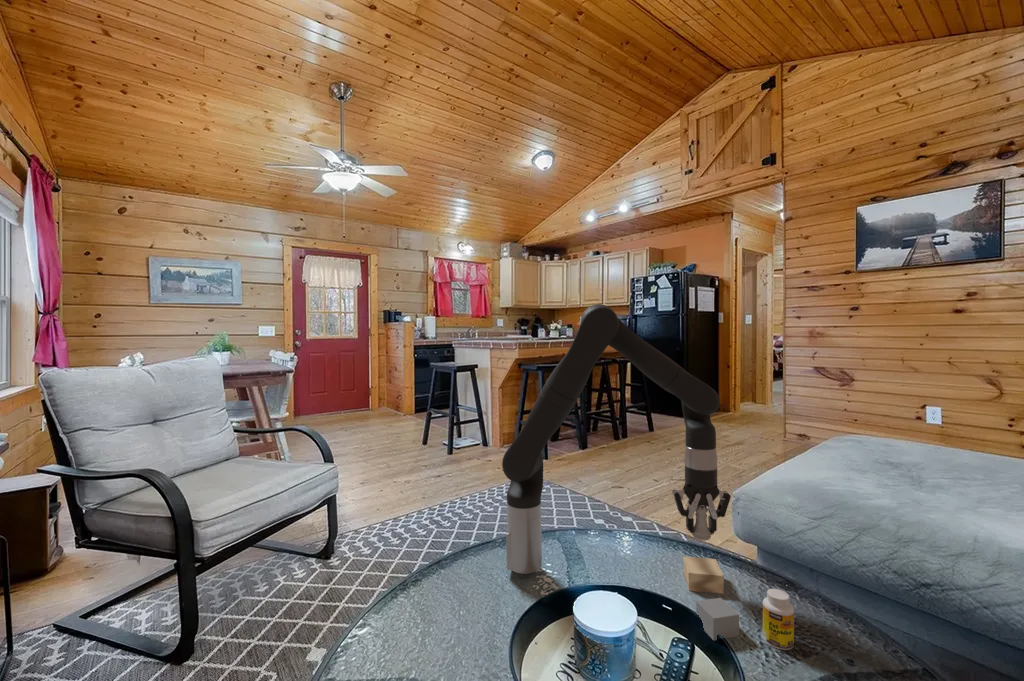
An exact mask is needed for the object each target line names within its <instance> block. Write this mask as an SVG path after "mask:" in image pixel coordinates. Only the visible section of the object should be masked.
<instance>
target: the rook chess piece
mask: <svg viewBox="0 0 1024 681" xmlns="http://www.w3.org/2000/svg"><path fill="white" fill-rule="evenodd" d="M708 512H709V511H708V508H707V506H704V505H701V506H697V509H696V511H695V513H694V515H695V521H694V523H695V524H694V533H691V535H692V537H693V538H694V539H696V540H699V541H703V542H704V541H708V540H711V538H712V534H711V532H710V530H709V525H708V523H707V520H708V519H707V517H708V514H707V513H708Z"/></svg>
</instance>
